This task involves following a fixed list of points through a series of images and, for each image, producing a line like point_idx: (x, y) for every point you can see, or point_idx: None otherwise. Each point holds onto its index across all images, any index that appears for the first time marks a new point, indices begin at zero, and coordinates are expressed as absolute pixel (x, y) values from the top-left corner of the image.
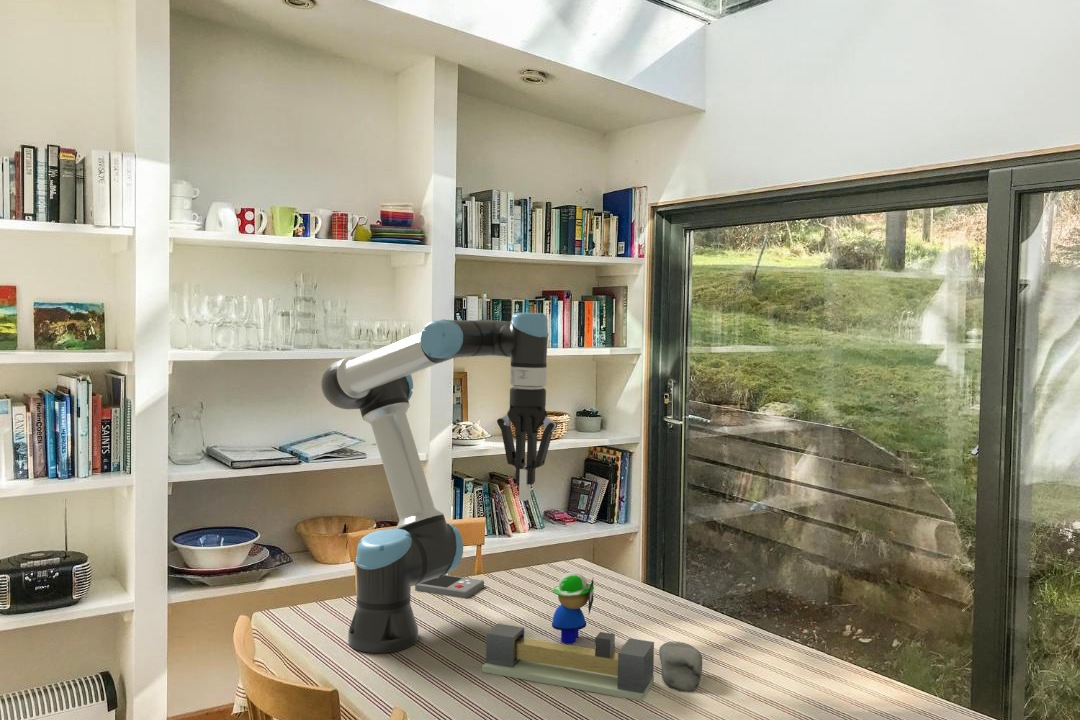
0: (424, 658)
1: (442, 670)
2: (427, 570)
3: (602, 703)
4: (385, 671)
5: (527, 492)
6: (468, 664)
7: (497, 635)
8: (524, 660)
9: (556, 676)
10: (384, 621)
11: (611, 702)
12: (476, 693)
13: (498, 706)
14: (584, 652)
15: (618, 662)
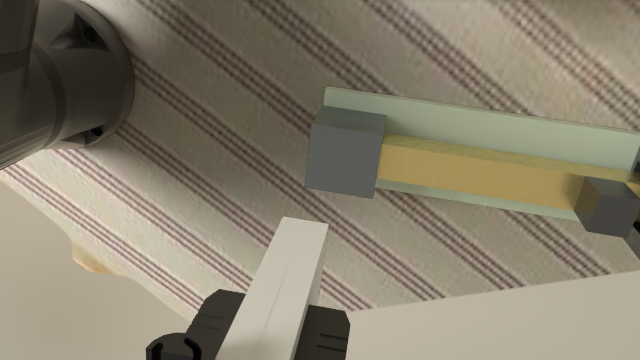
0: (187, 138)
1: (243, 182)
2: (27, 43)
3: (574, 251)
4: (152, 207)
5: (315, 298)
6: (279, 145)
7: (333, 191)
8: (392, 132)
9: None
10: (62, 144)
11: (593, 245)
12: (336, 255)
13: (387, 291)
14: (546, 195)
15: (633, 250)
